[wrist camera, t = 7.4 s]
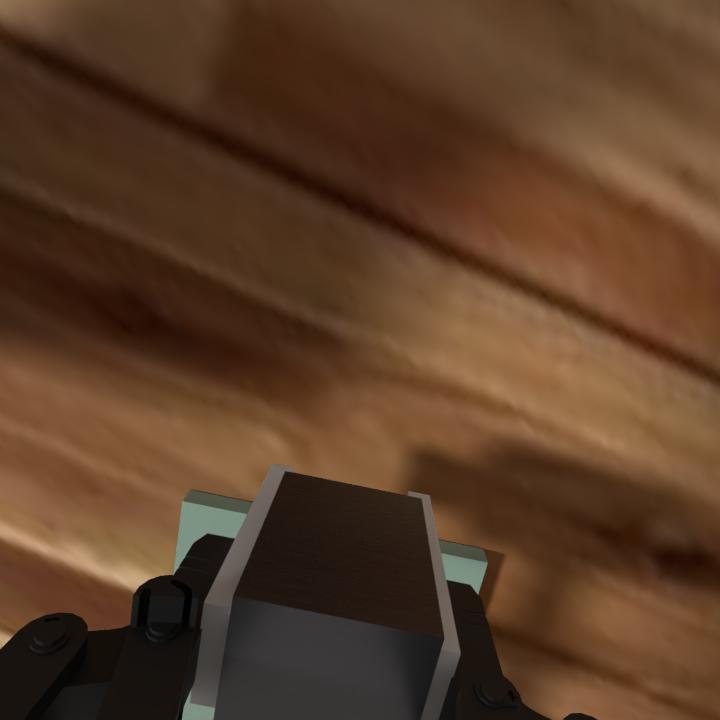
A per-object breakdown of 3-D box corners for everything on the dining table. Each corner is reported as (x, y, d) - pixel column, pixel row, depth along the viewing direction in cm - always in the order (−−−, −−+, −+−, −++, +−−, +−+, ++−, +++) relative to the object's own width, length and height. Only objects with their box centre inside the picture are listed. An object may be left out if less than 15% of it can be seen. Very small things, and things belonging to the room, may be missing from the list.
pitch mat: (190, 489, 22) (182, 501, 21) (483, 548, 22) (487, 562, 22) (151, 801, 27) (143, 821, 26) (392, 848, 27) (393, 871, 26)
